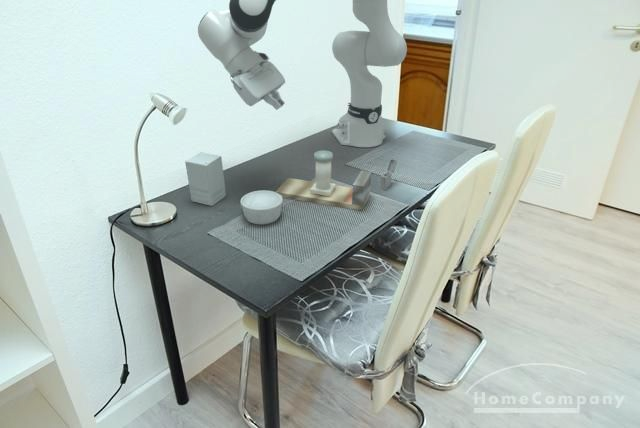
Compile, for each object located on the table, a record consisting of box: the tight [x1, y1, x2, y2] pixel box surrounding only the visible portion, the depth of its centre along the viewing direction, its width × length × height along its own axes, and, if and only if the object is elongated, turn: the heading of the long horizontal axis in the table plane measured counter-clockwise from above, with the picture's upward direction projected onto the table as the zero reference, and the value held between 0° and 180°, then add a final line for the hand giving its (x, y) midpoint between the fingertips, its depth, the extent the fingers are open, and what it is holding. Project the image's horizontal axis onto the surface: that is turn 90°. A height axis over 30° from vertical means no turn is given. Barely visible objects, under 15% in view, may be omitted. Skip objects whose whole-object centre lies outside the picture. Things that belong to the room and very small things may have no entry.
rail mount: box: [275, 170, 372, 211], centre depth 131 cm, size 26×10×8 cm, turn 72°
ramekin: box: [239, 189, 284, 225], centre depth 121 cm, size 11×11×5 cm
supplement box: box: [184, 151, 227, 207], centre depth 128 cm, size 7×7×13 cm
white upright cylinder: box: [310, 150, 337, 196], centre depth 129 cm, size 6×6×11 cm
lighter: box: [379, 158, 398, 191], centre depth 137 cm, size 7×2×8 cm, turn 146°
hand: (281, 106), depth 123 cm, fingers closed
